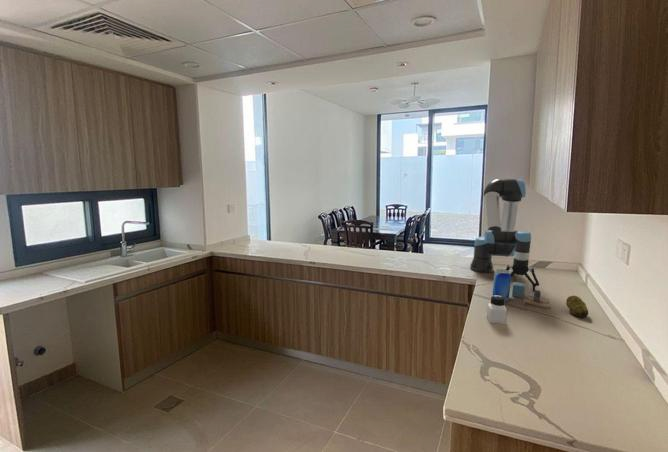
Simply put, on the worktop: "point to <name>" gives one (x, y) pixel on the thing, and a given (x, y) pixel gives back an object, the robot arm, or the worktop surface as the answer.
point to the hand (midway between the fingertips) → (517, 294)
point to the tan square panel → (536, 300)
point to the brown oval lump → (577, 306)
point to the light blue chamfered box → (518, 289)
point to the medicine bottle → (497, 310)
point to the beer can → (502, 283)
